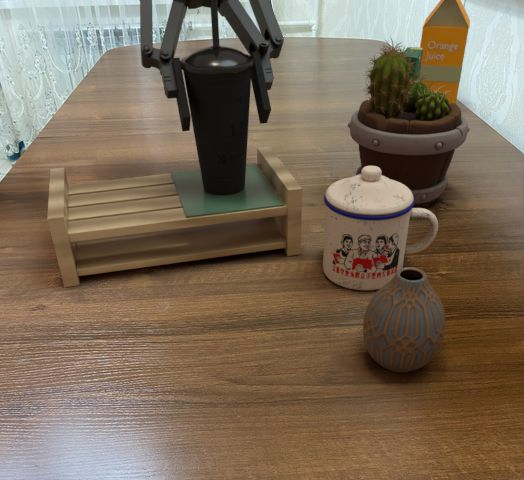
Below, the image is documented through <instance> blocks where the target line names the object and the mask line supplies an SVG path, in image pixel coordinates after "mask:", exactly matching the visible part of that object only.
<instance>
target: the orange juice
mask: <svg viewBox="0 0 524 480" xmlns="http://www.w3.org/2000/svg"><path fill="white" fill-rule="evenodd" d="M470 24H471V19H470V17H469V15H468V13H467V10H466V9H465V7H464V4H463V2H462V0H439V1H438V3H437V4H436V5H435V7H434V8H433V9H432V11H431V12H430V13H429V14H428V16H427V17H426V18H425V20H424V22H423V25H422V30H421V37H420V43H419V44H420V45H419V48H423V53H422V61H421V70H420V77H421V78H422V77H423V76H424V75H426V76H424V77H423V78H426V79H423V80H421V82H423V83H425V84H426V85H427V86H429V87H430V88H429V89H430V91H431V88H432V91H434V90H435V89H436V88H437V89H438V88H440V87H441V86H443V87H441V88H440V89H438V90H437V92H438V93H444V92H445V93H446V92H447V91H449V92H447V93H446V96H445V97H446V98H447V99H448V98H449V96H450V98H449V100H448V101H449V103H455V104H456V105H457V99H458V94H459V88H460V82H461V77H462V73H463V72H462V71H463V65H464V60H465V58H464V57H465V54H466V47H467V42H468V35H469V29H470V27H471V26H470ZM421 78H419V79H421ZM428 81H429V82H428ZM433 82H434V83H433ZM432 83H433V84H432ZM431 84H432V85H431ZM430 85H431V86H430ZM434 87H435V88H434ZM445 90H446V91H445Z"/></svg>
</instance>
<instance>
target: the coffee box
mask: <svg viewBox="0 0 524 480" xmlns="http://www.w3.org/2000/svg"><path fill="white" fill-rule="evenodd" d="M403 51H404V52H403V53H406V54H404V56H403V58H404V57H405V55H406V58H404V59H407V60H408V59H411V60H408V62H409V61H410V62H409V64H410V63H413V62H415V63H413V65H412V64H410V65H412V66H413V67H414V68H415V70H412V71H410V72H409V79H410V80H411V77H410V76H414V75H415V76H416V77H417V76H418V77H419V78H420V74H419V73H420V70H421V61H422V53H423V48H420V46H419V47H418V46H416V47H415V46H407V47H405V49H404V50H403ZM403 53H402V54H403ZM409 54H410V55H409ZM407 55H408V56H407ZM408 57H409V58H408ZM407 60H406V61H407ZM410 67H411V66H410ZM413 67H411V68H413ZM417 69H418V70H417ZM418 72H419V73H418ZM413 73H414V74H413ZM415 73H416V74H415ZM410 74H411V75H410ZM417 74H419V75H417ZM415 76H414V78H413V77H412V78H413V81H415V80H414V79H415ZM419 78H417V81H419Z"/></svg>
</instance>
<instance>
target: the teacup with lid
mask: <svg viewBox="0 0 524 480" xmlns="http://www.w3.org/2000/svg"><path fill="white" fill-rule="evenodd" d="M381 174H382V171H381V169H380V168H379V167H377V166H366V167H364V168H363V169H362V170H361V174H359V175H356V174H355V175H353V176H349V177H345V178H341V179H339V180H336V181H334V182H333V183H332V184H330V185H329V186H328V188H327V189H326V190H325V194H324V196H323V202H324V204H325V216H324V217H325V218H324V233H323V234H324V236H323V238H324V239H323V255H322V257H323V258H322V271H323V274H324V275H325V276H326V277H327V279H328V280H330V281H331V282H332V283H334V284H336V285H338V286H340V287H342V288H346V289H350V290H356V291H375V290H376V291H378V290H379V289H380V288H382V287H383V286H384V285H385V284H386V283H388V282H389V281H390V280H391V279H392V278H393V277H394V276H395V274H396V272H397V271H398V270H399V269H401V268H404V260H405V255H412V254H413V255H414V254H417V253H420V252H422V251H425V250H426V249H427V248H428V247H429V246H430V245H432V243H433V242H434V240H435V239H436V236H437V235H438V234H437V233H438V231H439V222H438V218H437V216H436V215H435V214H434V212H432V211H431V210H429V209H427V208H413V206H414V198H413V194H412V192H411V190H410V189H409V188H408V187H407V186H405V185H404V184H402V183H400V182H398V181H395V180H392V179H389V178H387V177H385V176H383V175H381ZM410 218H423V219H426V220H427V221H428V222H430V227H429V229H428V231H427V233H426V234H425V236H424V237H423V238H422V239H421V240H419V241H417V242H416V243H412V244H407V239H408V233H409V227H410V226H409V225H410Z"/></svg>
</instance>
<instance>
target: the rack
mask: <svg viewBox="0 0 524 480" xmlns="http://www.w3.org/2000/svg"><path fill="white" fill-rule="evenodd" d="M67 178H68V177H67V173H66V168H65V167H56V168H50V169H49V184H48V185H49V187H48V202H47V216H46V217H47V218H46V219H47V223H48V228H49V231H50V235H51V241H52V244H53V247H54V248H53V249H54V252H55V256H56V259H57V264H58V267H59V270H60V276H61V279H62V282H63V287H64V288H69V287H75V286H80V277H82V276H89V275H98V274H104V273H105V274H106V273H112V272H113V273H114V272H120V271H128V270H134V269H140V268H141V269H142V268H149V267H156V266H163V265H170V264H177V263H178V264H179V263H185V262H192V261H193V262H194V261H200V260H208V259H214V258H221V257H229V256H236V255H243V254H250V253H258V252H265V251H273V250H280V249H283V251H284V253H285V254H286V256H287V257H291V256H297V255H298V256H299V255H301V253H302V215H303V214H302V213H303V208H302V207H303V188H302V186H301V185H300V184H299V183H298V181H297V180H296V178H294V176H293V175H292V173H291V172H290V171H289V170H288V168H287V167H286V166H285V165H284V163H283V162H282V161H281V159H280V158H279V156H277V154H276V153H275V152H274V150H273V149H272V148H271V147H270V146H269V145H268V146H259V147H258V146H257V147H256V162H253V163H246V175H245V187H244V189H243V190H242V191H240V192H238V193H235V194H230V195H215V194H211V193H208V192H206V191H205V190H204V187H203V182H202V176H201V170H200V168H199V169H198V168H197V169H189V170H180V171H172V172H171V171H170V173H161V174H153V175H143V176H134V177H133V176H132V177H124V178H123V177H122V178H114V179H106V180H97V181H89V182H79V183H69V182H68V179H67Z"/></svg>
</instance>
